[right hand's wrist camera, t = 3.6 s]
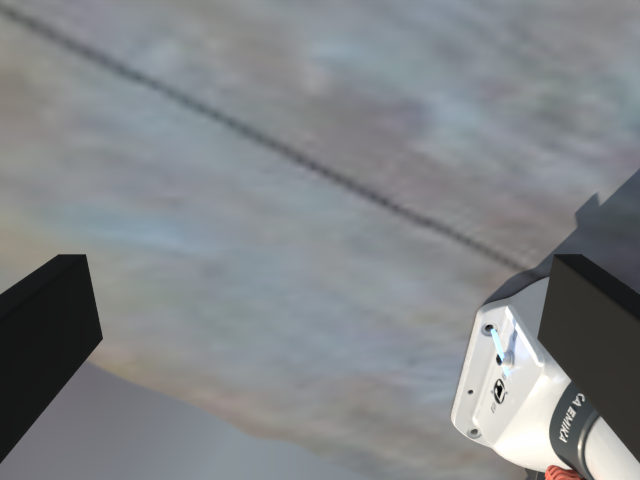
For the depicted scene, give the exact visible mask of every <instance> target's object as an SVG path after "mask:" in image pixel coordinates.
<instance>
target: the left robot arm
mask: <svg viewBox="0 0 640 480" xmlns="http://www.w3.org/2000/svg"><path fill="white" fill-rule="evenodd" d="M549 277H550V276H549ZM549 277H546V278H544V279H541V280H539V281H537V282H535V283H533V284H531V285H529V286H528V287H526V288H525V289H523V290H522V291H520V292H518V293H517V294H515V295H513V296H511V297H509V298H506V299H501V300H497V301H494V302H490V303H488V304H486V305H484V306H482V307H481V308H480V309H479V310H478V312H477V315H476V319H475V323H474V327H473V331H472V335H471V339H470V343H469V347H468V350H467V354H466V358H465V362H464V366H463V370H462V374H461V378H460V382H459V386H458V389H457V393H456V397H455V401H454V405H453V409H452V413H451V420H452V422H453V424H454V426H455V427H456V428H457V429H458V430H459V431H460V432H461V433H462V434H464V435H465V436H467V437H468V438H470V439H472V440H473V441H475V442H478V443H480V444H482V445H485V446H488V447H491V448H493V450H494V451H495V452H497V453H498V454H499V455H500V456H502V457H503V458H505V459H506V460H508V461H510V462H512V463H515V464H517V465H519V466H522V467H525V470H526V472H527V474H528V476H529V478H530V480H640V463H639V462H638V461H637V460H636V459H635V457H634V456H633V455H632V454H631V452H630V451H629V450H628V449H627V448H626V446H625V445H624V444H623V443H622V442H621V440H620V439H619V438H618V437H617V435H616V434H615V433H614V432H613V431H612V429H611V428H610V427H609V426H608V424H607V423H606V422H605V421H604V420H603V418H602V417H601V416H600V415H599V414H598V412H597V411H596V410H595V409H594V407H593V406H592V405H591V404H590V403H589V401H588V400H587V399H586V398H585V396H584V395H583V394H582V393H581V392H580V390H579V389H578V388H577V387H576V386H575V384H574V383H573V382H572V381H571V379H570V378H569V377H568V376H567V375H566V373H565V372H564V371H563V370H562V369H561V367H560V366H559V365H558V364H557V362H556V361H555V360H554V359H553V358H552V356H551V355H550V354H549V353H548V351H547V350H546V349H545V348H544V347H543V345H542V344H541V343H540V342H539V341H538V339H537V337H538V332H539V327H540V322H541V317H542V312H543V307H544V302H545V297H546V292H547V287H548V282H549ZM489 324H491V326H490V327H488V328H485V327H486V326H487V325H489ZM473 429H474V430H473Z"/></svg>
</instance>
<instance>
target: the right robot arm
mask: <svg viewBox="0 0 640 480" xmlns="http://www.w3.org/2000/svg"><path fill="white" fill-rule="evenodd" d="M102 339H103V337H102V332H101V327H100V322H99V317H98V312H97V307H96V302H95V297H94V292H93V287H92V282H91V277H90V272H89V267H88V262H87V257H86V254H59V255H57V256H56V257H54V258H53V259H51V260H50V261H48V262H47V263H45V264H44V265H43V266H41V267H40V268H38V269H37V270H35V271H34V272H32V273H31V274H29V275H28V276H27V277H25V278H24V279H22V280H21V281H19V282H18V283H16V284H15V285H13V286H12V287H11V288H9V289H8V290H6V291H5V292H3V293H2V294H0V463H1V462H2V461H3V460H4V458H5V457H6V456H7V455H8V454H9V452H10V451H11V450H12V449H13V448H14V446H15V445H16V444H17V443H18V442H19V440H20V439H21V438H22V437H23V435H24V434H25V433H26V432H27V431H28V429H29V428H30V427H31V426H32V424H33V423H34V422H35V421H36V420H37V418H38V417H39V416H40V415H41V413H42V412H43V411H44V410H45V409H46V407H47V406H48V405H49V404H50V403H51V401H52V400H53V399H54V398H55V396H56V395H57V394H58V393H59V392H60V390H61V389H62V388H63V387H64V385H65V384H66V383H67V382H68V381H69V379H70V378H71V377H72V376H73V375H74V373H75V372H76V371H77V370H78V369H79V367H80V366H81V365H82V364H83V362H84V361H85V360H86V359H87V358H88V356H89V355H90V354H91V353H92V351H93V350H94V349H95V348H96V347H97V345H98V344H99V343H100V342H101V341H102ZM537 339H538V341H539V342H540V343H541V344H542V345H543V347H544V348H545V349H546V350H547V351H548V353H549V354H550V355H551V356H552V358H553V359H554V360H555V361H556V362H557V364H558V365H559V366H560V367H561V369H562V370H563V371H564V372H565V373H566V375H567V376H568V377H569V378H570V379H571V381H572V382H573V383H574V384H575V386H576V387H577V388H578V389H579V390H580V392H581V393H582V394H583V395H584V396H585V398H586V399H587V400H588V401H589V403H590V404H591V405H592V406H593V407H594V409H595V410H596V411H597V412H598V414H599V415H600V416H601V417H602V418H603V420H604V421H605V422H606V423H607V424H608V426H609V427H610V428H611V429H612V431H613V432H614V433H615V434H616V435H617V437H618V438H619V439H620V440H621V442H622V443H623V444H624V445H625V446H626V448H627V449H628V450H629V451H630V452H631V454H632V455H633V456H634V457H635V459H636V460H637V461H638V462H639V463H640V294H638V293H637V292H635V291H634V290H632V289H631V288H629V287H628V286H627V285H625V284H624V283H622V282H621V281H619V280H618V279H616V278H615V277H613V276H612V275H611V274H609V273H608V272H606V271H605V270H603V269H602V268H600V267H599V266H597V265H596V264H595V263H593V262H592V261H590V260H589V259H587V258H586V257H584V256H583V255H581V254H554V257H553V262H552V267H551V272H550V277H549V282H548V287H547V292H546V297H545V302H544V307H543V312H542V317H541V322H540V327H539V332H538V337H537Z"/></svg>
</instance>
